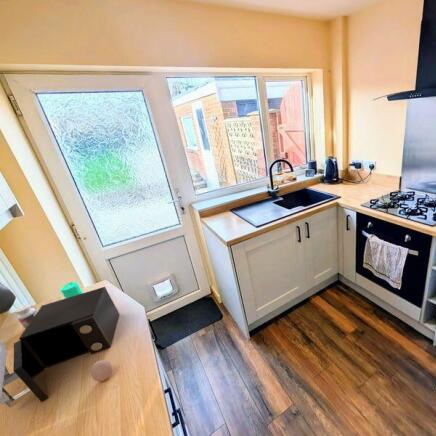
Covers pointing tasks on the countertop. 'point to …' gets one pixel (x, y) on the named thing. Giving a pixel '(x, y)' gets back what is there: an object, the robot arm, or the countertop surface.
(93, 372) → the egg
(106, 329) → the microwave
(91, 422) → the countertop surface
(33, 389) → the microwave door
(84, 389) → the countertop surface
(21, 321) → the pill bottle
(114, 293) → the countertop surface
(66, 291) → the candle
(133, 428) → the countertop surface
